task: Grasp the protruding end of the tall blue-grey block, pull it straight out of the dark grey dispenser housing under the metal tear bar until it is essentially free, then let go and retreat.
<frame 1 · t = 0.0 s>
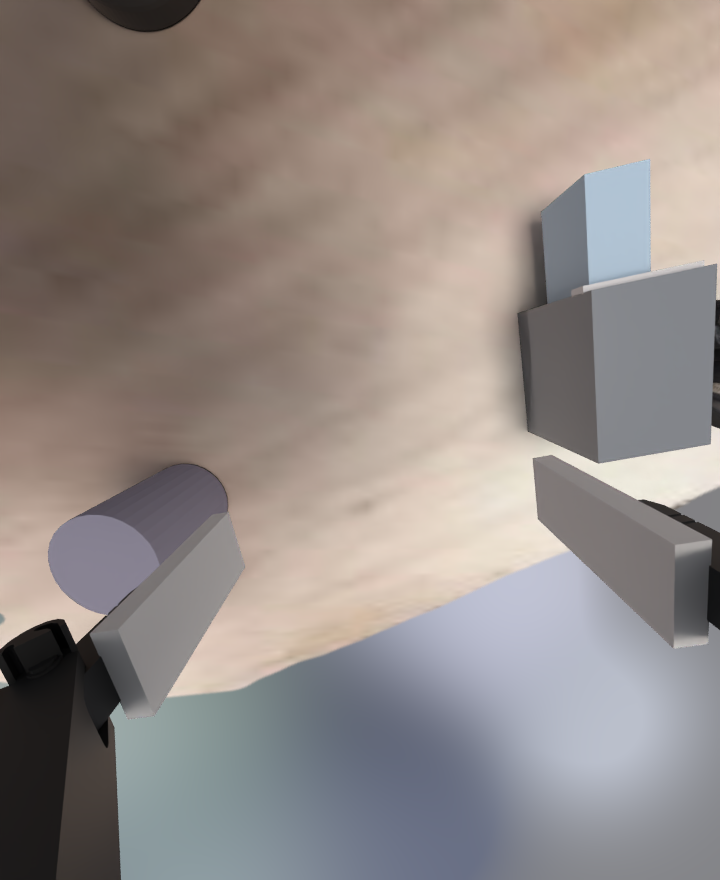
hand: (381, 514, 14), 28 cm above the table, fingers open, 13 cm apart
tall blue-grey block: (593, 294, 32), point 6 cm above the table, slide at 0.0 cm
dispenser: (561, 367, 40), on the table
camera: (702, 373, 40), on the table
container: (191, 499, 45), on the table
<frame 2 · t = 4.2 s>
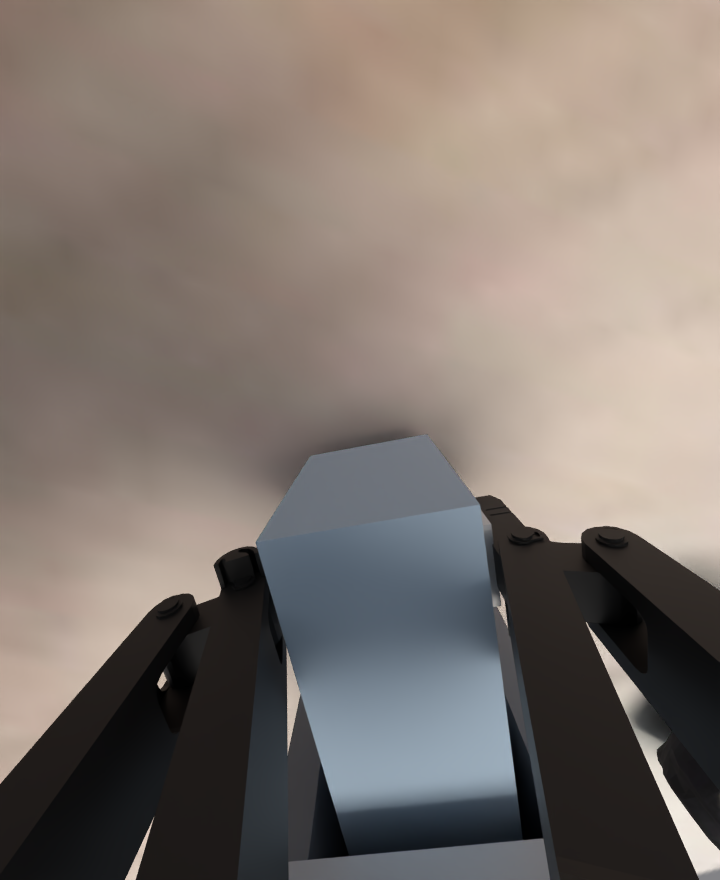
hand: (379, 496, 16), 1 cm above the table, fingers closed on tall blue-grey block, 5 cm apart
tall blue-grey block: (412, 693, 13), point 6 cm above the table, slide at 0.0 cm, touching gripper
dispenser: (418, 686, 20), on the table
camera: (712, 679, 20), on the table
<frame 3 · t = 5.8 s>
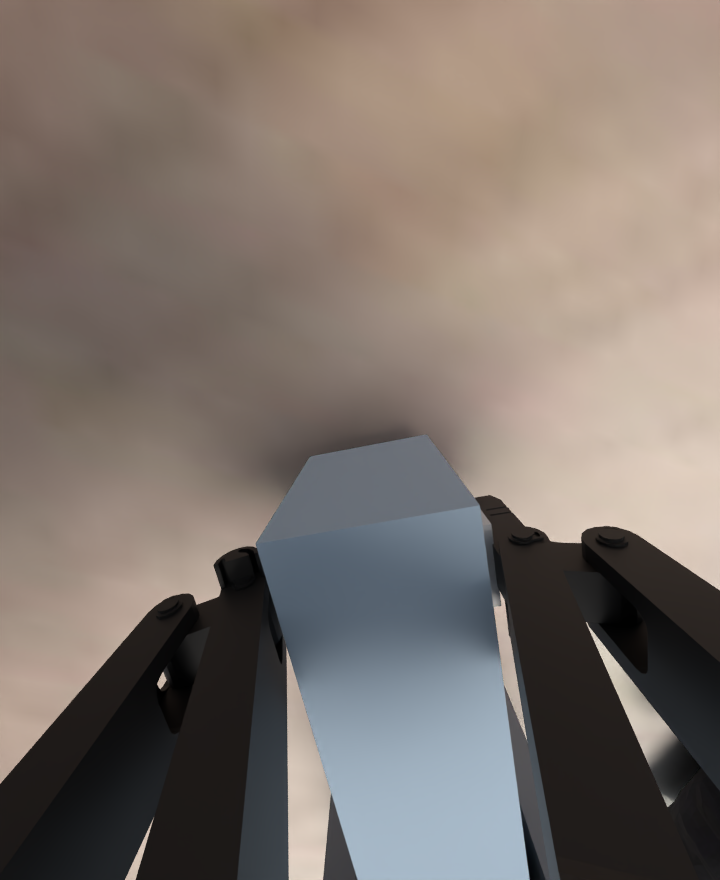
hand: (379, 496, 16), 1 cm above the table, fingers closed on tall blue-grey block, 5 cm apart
tall blue-grey block: (413, 694, 13), point 6 cm above the table, slide at 5.5 cm, touching gripper
dispenser: (433, 753, 22), on the table
camera: (717, 741, 21), on the table
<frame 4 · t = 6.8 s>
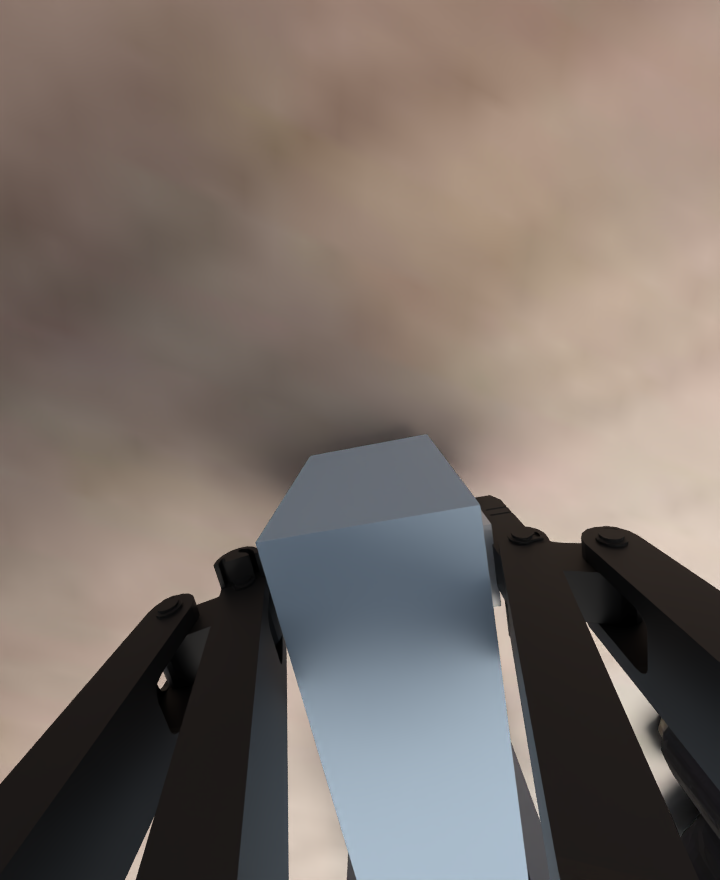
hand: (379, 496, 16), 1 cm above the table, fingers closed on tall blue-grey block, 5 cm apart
tall blue-grey block: (412, 693, 13), point 6 cm above the table, slide at 9.4 cm, touching gripper
dispenser: (441, 797, 22), on the table
camera: (718, 784, 22), on the table
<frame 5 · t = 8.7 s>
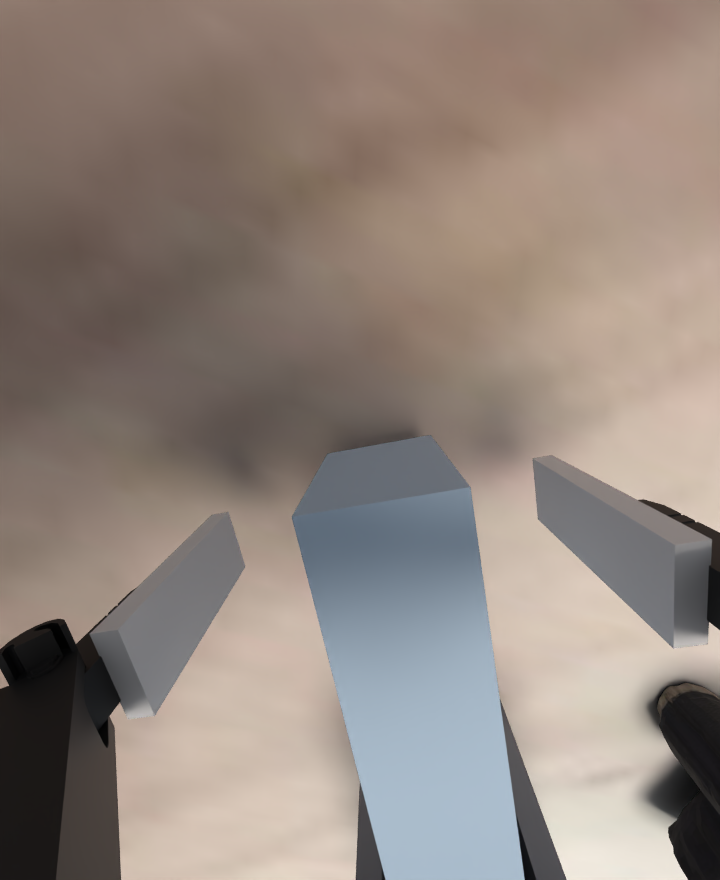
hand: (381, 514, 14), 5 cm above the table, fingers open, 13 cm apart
tall blue-grey block: (416, 662, 15), point 6 cm above the table, slide at 9.5 cm
dispenser: (444, 779, 24), on the table
camera: (717, 765, 23), on the table
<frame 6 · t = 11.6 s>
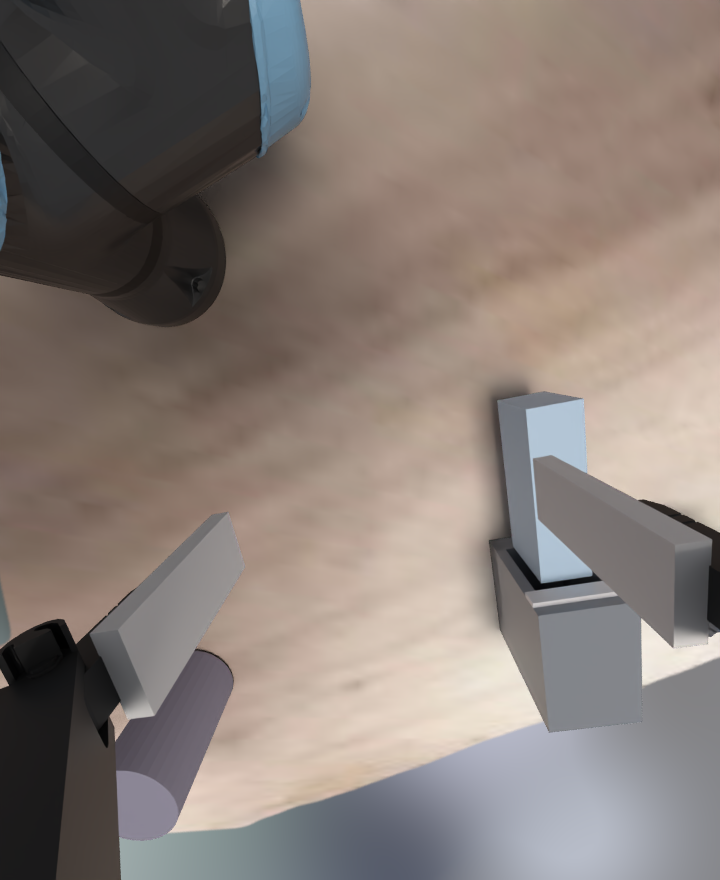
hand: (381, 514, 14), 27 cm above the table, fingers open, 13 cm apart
tall blue-grey block: (542, 484, 35), point 6 cm above the table, slide at 9.5 cm
dispenser: (528, 581, 45), on the table
container: (200, 676, 51), on the table
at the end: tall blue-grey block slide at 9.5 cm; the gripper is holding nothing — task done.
